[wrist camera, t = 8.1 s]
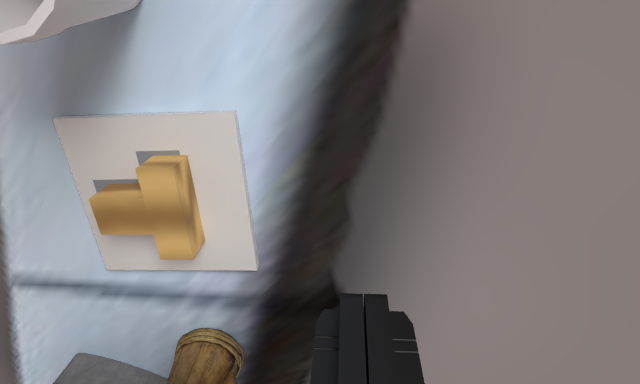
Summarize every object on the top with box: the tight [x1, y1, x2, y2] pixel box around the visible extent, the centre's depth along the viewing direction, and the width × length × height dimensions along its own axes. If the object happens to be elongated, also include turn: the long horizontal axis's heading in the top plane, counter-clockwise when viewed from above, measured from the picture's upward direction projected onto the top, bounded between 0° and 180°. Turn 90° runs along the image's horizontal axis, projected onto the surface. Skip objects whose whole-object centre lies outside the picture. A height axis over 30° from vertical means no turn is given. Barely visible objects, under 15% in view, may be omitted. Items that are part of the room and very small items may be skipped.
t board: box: [52, 110, 259, 270], centre depth 40 cm, size 18×18×1 cm
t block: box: [89, 155, 205, 260], centre depth 38 cm, size 10×9×4 cm
